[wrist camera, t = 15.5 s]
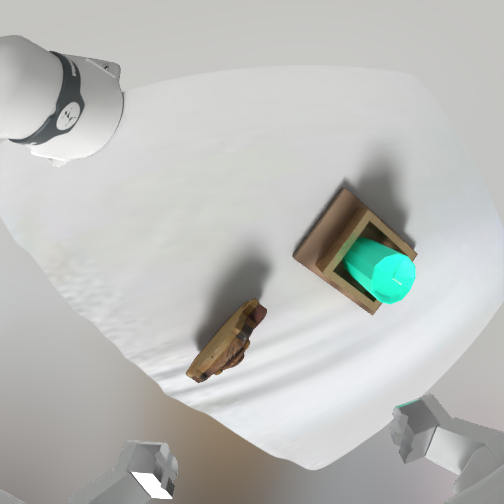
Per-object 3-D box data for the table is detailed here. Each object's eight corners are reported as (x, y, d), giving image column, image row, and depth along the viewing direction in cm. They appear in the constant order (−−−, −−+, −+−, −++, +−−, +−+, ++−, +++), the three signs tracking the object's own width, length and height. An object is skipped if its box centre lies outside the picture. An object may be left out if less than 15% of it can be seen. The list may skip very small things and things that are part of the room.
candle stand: (292, 256, 41) (298, 266, 36) (341, 188, 39) (355, 188, 34) (369, 311, 43) (382, 326, 38) (412, 252, 41) (431, 260, 36)
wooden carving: (212, 371, 45) (205, 411, 35) (188, 358, 44) (176, 396, 35) (270, 297, 42) (277, 328, 32) (244, 280, 42) (244, 308, 32)
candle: (370, 229, 39) (413, 246, 27) (385, 264, 40) (428, 291, 28) (335, 250, 39) (368, 275, 28) (352, 284, 40) (386, 319, 29)
